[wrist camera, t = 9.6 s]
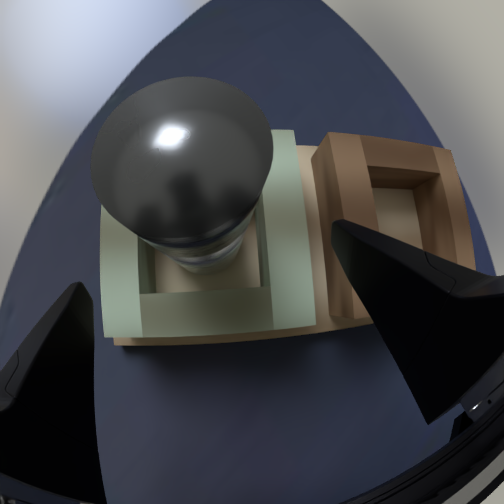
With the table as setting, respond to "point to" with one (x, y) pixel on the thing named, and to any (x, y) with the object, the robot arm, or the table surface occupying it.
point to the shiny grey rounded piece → (185, 168)
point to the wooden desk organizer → (288, 246)
